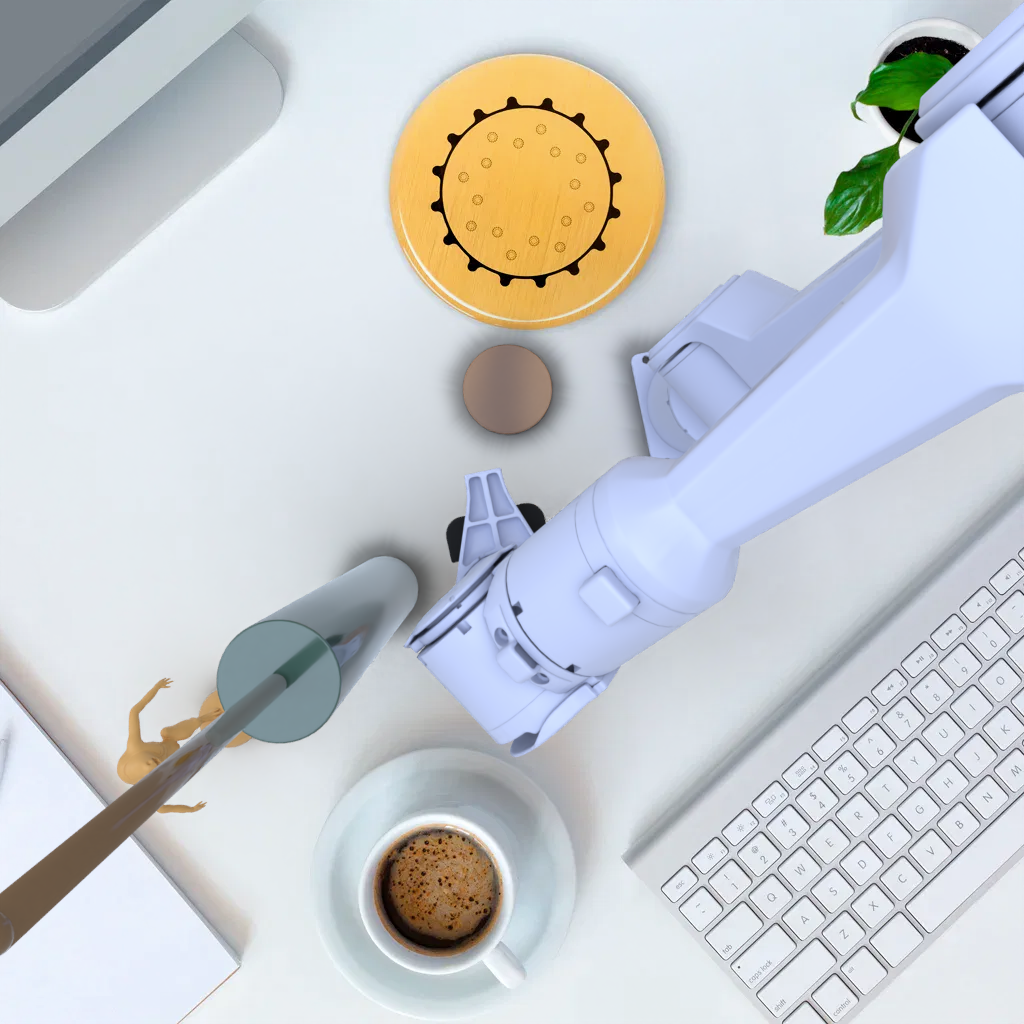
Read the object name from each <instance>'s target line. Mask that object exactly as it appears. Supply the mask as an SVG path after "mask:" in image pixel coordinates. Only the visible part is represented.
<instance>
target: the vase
mask: <svg viewBox="0 0 1024 1024" xmlns="http://www.w3.org/2000/svg"><path fill="white" fill-rule="evenodd" d="M418 597H419V583H418V580H417V577H416V574H415V573H414V571H413V570H412V569H411V567H410V566H409V565H408V564H407V563H406V562H404V561H402V560H401V559H399V558H396V557H394V556H389V555H379V556H375V557H372V558H369V559H367V560H366V561H364V562H363V563H361V564H359V565H357V566H355V567H353V568H352V569H349V570H348V571H346V572H344V573H343V574H341V575H339V576H337V577H336V578H333V579H332V580H330V581H328V582H326V583H325V584H323V585H321V586H319V587H317V588H316V589H314V590H312V591H310V592H309V593H307V594H305V595H303V596H301V597H299V598H298V599H296V600H294V601H292V602H291V603H289V604H287V605H285V606H283V607H282V608H280V609H278V610H276V611H274V612H272V613H271V614H269V615H267V616H265V617H264V618H261V619H260V620H258V621H256V622H254V623H253V624H251V625H249V626H248V627H246V628H244V629H243V630H242V631H240V632H239V633H237V634H236V635H235V637H233V639H232V640H230V642H229V643H228V644H227V646H226V647H225V649H224V650H223V652H222V655H221V657H220V660H219V662H218V665H217V666H218V667H217V671H216V690H217V692H218V696H219V700H220V703H221V705H222V707H223V710H224V711H225V712H224V713H222V714H221V715H220V716H219V717H217V718H216V719H215V720H214V721H212V722H211V723H210V724H209V725H208V726H206V727H205V728H204V729H203V730H201V729H200V731H199V732H198V733H197V734H195V735H194V736H193V737H190V738H189V740H188V741H186V742H185V743H184V744H183V745H181V746H180V748H179V749H178V750H177V751H175V752H174V753H173V754H172V755H170V756H169V757H168V758H167V759H166V760H164V761H163V762H162V763H161V764H159V765H158V766H157V767H156V768H154V769H153V770H152V771H151V772H149V773H148V774H147V775H146V776H145V777H143V778H142V779H141V780H140V781H138V782H137V783H136V784H135V785H132V786H131V787H130V788H128V789H127V790H126V791H125V792H123V793H122V794H121V795H120V796H119V797H117V798H116V799H115V800H113V801H112V802H111V803H110V804H109V805H107V806H106V807H105V808H104V809H103V810H101V811H100V812H99V813H98V814H96V815H95V816H94V817H92V819H90V820H89V821H87V822H86V823H85V824H84V825H83V826H82V827H80V828H79V829H78V830H77V831H75V832H74V833H72V835H71V836H69V837H68V838H66V839H65V840H64V841H62V843H60V844H59V845H58V846H57V847H56V848H54V849H53V850H52V851H50V852H49V853H48V854H47V855H45V856H44V857H43V858H41V860H39V861H38V862H36V864H35V865H33V866H32V867H31V868H30V869H28V870H26V872H24V873H23V874H21V876H20V877H18V878H17V879H16V880H15V881H13V882H12V883H11V884H10V885H9V886H7V887H6V888H5V889H3V890H2V891H1V892H0V957H2V956H3V955H4V954H6V953H7V952H8V950H10V949H11V948H12V947H13V946H14V945H15V944H16V943H18V941H19V940H21V939H22V938H23V937H24V936H25V935H26V934H27V933H28V932H30V930H31V929H32V928H33V927H34V926H36V925H37V924H38V923H39V922H40V921H41V920H42V919H43V918H44V917H45V916H46V915H48V913H50V911H52V910H53V909H54V908H55V907H56V906H57V905H58V904H59V903H60V902H61V901H62V900H64V898H65V897H66V896H68V895H69V894H70V893H72V891H73V890H74V889H75V888H76V887H77V886H78V885H79V884H81V883H82V881H84V880H85V879H86V878H87V877H88V876H89V875H90V874H91V873H92V872H93V871H94V870H96V869H97V867H99V866H100V865H101V864H102V863H103V862H104V861H105V860H106V859H107V858H108V857H109V856H110V855H111V854H112V853H114V852H115V851H116V850H117V849H118V848H119V847H120V846H121V845H122V844H123V843H125V841H126V840H127V839H129V837H131V836H132V835H133V834H134V833H135V832H136V831H137V830H139V828H141V826H143V824H144V823H145V822H147V821H148V820H149V819H150V818H151V817H152V816H153V815H154V814H156V812H157V810H158V809H159V808H160V807H161V806H163V805H166V803H167V802H168V801H169V800H170V799H172V797H174V795H175V794H177V793H178V792H179V791H180V790H181V789H182V788H183V787H184V786H185V785H186V784H188V783H189V781H191V779H193V778H194V777H195V776H196V775H197V774H199V772H201V770H202V769H203V768H204V767H205V766H206V765H207V764H209V763H210V762H211V761H213V760H214V758H215V757H216V756H217V755H218V754H220V753H221V752H222V750H224V749H226V748H225V747H226V746H227V745H228V744H229V743H230V742H231V741H232V740H233V739H234V738H235V737H236V736H237V735H238V734H240V733H241V732H244V733H245V734H247V735H249V736H251V737H252V738H253V739H255V740H258V741H260V742H264V743H267V744H268V743H269V744H275V745H277V744H290V743H295V742H299V741H303V740H304V739H307V738H309V737H310V736H312V735H314V734H315V733H317V732H318V731H319V730H320V729H322V728H323V727H324V725H326V724H327V722H328V721H329V720H330V719H331V718H332V716H333V715H334V713H335V712H336V711H337V709H338V708H339V707H340V705H341V704H342V702H343V701H344V700H345V699H346V698H347V697H348V695H349V694H350V693H351V691H352V690H353V688H354V687H355V686H356V685H357V683H358V682H359V680H360V679H361V678H362V676H363V675H364V674H365V673H366V671H367V670H368V668H369V667H370V665H371V664H372V663H373V662H374V661H375V659H376V658H377V656H378V655H379V654H380V652H381V651H382V650H383V649H384V648H385V646H386V644H387V643H388V642H389V641H390V639H391V638H392V637H393V635H394V634H395V633H396V631H397V630H398V629H399V627H400V626H401V625H402V624H403V622H404V621H405V619H406V618H407V617H408V616H409V614H410V613H411V611H412V610H413V609H414V607H415V605H416V603H417V600H418ZM252 738H251V739H252Z"/></svg>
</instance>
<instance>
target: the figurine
mask: <svg viewBox="0 0 1024 1024" xmlns="http://www.w3.org/2000/svg"><path fill="white" fill-rule="evenodd" d="M172 683H174V680H171V678H170V677H169V678H167V677H163V678H161V679H160V680H159V681H157V682H156V683H155V684H154V686H153V687H152V688H150V690H149V691H148V692H146V694H145V695H143V697H142V698H141V699H140V700H139V701H138V702H137V703H136V704H135V705H133V706H132V707H131V708H130V711H129V714H128V737H127V740H126V749H125V751H124V752H123V754H122V755H121V756H120V757H119V759H118V761H117V765H116V773H117V776H118V778H119V779H120V780H121V781H123V783H125V784H127V785H132V786H133V785H135V784H136V783H137V782H138V781H140V780H141V779H142V778H143V777H145V776H146V775H147V774H148V773H149V772H151V771H152V770H153V769H154V768H156V767H157V766H158V765H159V764H161V763H162V762H163V761H164V760H166V759H167V758H168V757H169V756H170V755H172V754H173V753H174V752H175V751H177V750H178V749H179V748H180V747H181V745H180V744H179V743H178V742H180V741H181V742H182V741H185V740H188V739H190V738H192V737H191V736H193V734H194V733H195V732H196V731H197V730H198V729H200V731H201V730H203V729H204V728H205V727H206V726H208V725H209V724H210V723H211V722H212V721H214V720H215V719H216V718H217V717H219V716H220V715H221V714H222V713H224V712H225V711H224V710H223V707H222V705H221V703H220V700H219V696H218V692H217V689H216V690H214V691H213V692H211V693H210V694H209V695H207V697H206V698H205V699H204V700H203V702H202V704H201V706H200V708H199V713H198V716H197V717H190V718H188V719H184V720H183V719H182V720H180V721H178V722H177V723H175V724H173V725H169V726H165V727H163V728H161V730H160V732H159V733H160V736H161V739H162V741H154V740H153V741H144V740H143V739H142V736H141V735H142V734H141V721H140V713H141V712H142V711H144V709H145V708H146V706H147V705H148V704H149V703H150V702H152V700H153V699H154V698H155V697H156V696H157V694H158V692H159V691H160V690H161V689H170V688H171V685H170V684H172ZM251 739H252V737H251V736H249V735H247V734H245V733H244V732H241V733H240V734H238V735H237V736H236V737H235V738H234V739H233V740H232V741H231V742H230V743H229V744H228V745H227V746H226V747H225V748H224V749H233V748H236V747H237V748H238V747H240V746H242V745H245V744H246V743H248V742H249V741H250V740H251ZM207 804H208V801H205V802H203V800H201V801H199V802H198V803H196V804H195V805H194V806H189V805H186V804H164V805H163V806H161V807H160V808H159V809H158V810H157V811H156V812H157V813H159V814H169V813H175V814H176V813H177V814H185V813H186V814H187V813H190V814H191V813H192V814H193V813H195V812H198V811H200V810H202V809H204V808H205V807H206V805H207Z"/></svg>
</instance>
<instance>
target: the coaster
mask: <svg viewBox="0 0 1024 1024" xmlns="http://www.w3.org/2000/svg"><path fill="white" fill-rule="evenodd" d="M552 383H553V382H552V378H551V375H550V372H549V370H548V367H547V366H546V364H545V363H544V361H543V360H542V359H541V358H540V357H539V356H538V355H537V354H536V353H535V352H533V351H531V350H529V349H528V348H526V347H523V346H521V345H516V344H499V345H495V346H492V347H489V348H487V349H486V350H483V351H481V352H480V353H479V354H478V355H476V357H475V358H474V359H473V360H472V361H471V363H470V364H469V366H468V367H467V369H466V372H465V374H464V378H463V383H462V396H463V401H464V404H465V407H466V410H467V411H468V414H469V415H470V416H471V417H472V419H473V420H474V421H475V422H476V423H477V424H478V425H479V426H481V427H482V428H483V429H486V430H487V431H490V432H492V433H495V434H498V435H515V434H520V433H523V432H526V431H528V430H530V429H531V428H534V427H535V425H537V424H539V422H540V421H541V419H543V417H544V416H545V415H546V413H547V411H548V409H549V407H550V404H551V400H552V395H553V384H552Z"/></svg>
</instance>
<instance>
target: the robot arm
mask: <svg viewBox="0 0 1024 1024" xmlns="http://www.w3.org/2000/svg"><path fill="white" fill-rule="evenodd" d="M918 117H919V119H918V120H917V121H916V122H915V124H914V130H915V133H916V134H917V135H918V136H919V137H920V138H921V140H923V141H922V142H920V143H919V144H918V145H917V146H915V147H914V148H913V149H912V150H910V151H908V152H907V153H906V154H904V155H902V156H901V157H900V158H898V159H897V161H895V163H893V164H892V165H891V166H890V168H889V170H888V171H887V172H886V174H885V176H884V179H883V188H882V189H883V190H882V223H881V224H882V226H881V227H880V228H879V229H878V230H877V231H875V232H874V233H873V234H872V235H870V236H869V237H868V238H867V239H865V240H864V241H863V242H861V243H860V244H859V245H857V246H856V247H854V249H852V250H850V251H849V252H848V253H847V254H846V255H844V256H843V257H842V258H841V259H840V260H838V261H837V262H835V263H834V264H833V265H832V266H830V267H829V268H827V270H825V271H824V272H823V273H822V274H819V276H817V277H816V278H815V279H814V280H812V281H811V282H810V283H809V284H807V285H806V286H805V287H803V288H802V289H801V290H797V288H793V287H791V286H789V285H787V284H785V283H783V282H781V281H778V280H776V279H774V278H772V277H770V276H767V275H766V274H763V273H761V272H759V271H756V270H753V269H747V270H745V271H744V272H743V273H742V274H741V275H740V274H733V275H732V276H731V277H730V278H729V279H728V280H726V282H725V283H724V284H719V285H718V286H716V288H715V289H713V291H712V292H710V293H709V294H708V295H707V296H706V297H705V298H704V299H703V300H702V301H700V303H698V305H696V306H695V307H694V308H693V309H692V310H691V311H690V312H689V313H688V314H687V315H685V317H683V319H681V320H680V321H678V323H677V324H676V325H675V326H674V327H673V328H672V329H670V331H668V333H666V334H665V335H664V336H663V337H662V338H661V339H660V340H659V341H658V342H657V343H656V344H655V345H654V346H652V347H651V348H650V349H649V351H645V352H640V353H636V354H634V355H633V356H632V357H631V359H630V364H631V365H630V367H631V370H632V375H633V380H634V385H635V390H636V394H637V395H636V396H637V399H638V404H639V409H640V413H641V420H642V424H643V428H644V433H645V438H646V442H647V443H646V444H647V447H648V452H649V456H648V455H634V456H628V457H626V458H623V459H621V460H619V461H618V462H616V463H615V464H614V465H613V466H612V467H610V468H609V469H608V470H607V471H606V472H605V473H603V474H602V475H601V476H599V478H597V479H596V480H595V481H594V482H593V483H591V484H590V485H589V486H588V487H587V488H586V489H585V490H583V491H582V492H581V493H580V494H578V495H577V496H576V497H575V498H574V499H572V500H571V502H569V503H567V504H566V506H564V507H563V508H562V509H561V510H559V512H557V513H556V514H555V515H554V516H553V517H552V518H551V519H549V520H548V521H546V517H545V514H544V512H543V510H542V509H541V508H540V506H538V505H536V504H534V503H532V502H523V503H519V504H516V502H515V501H514V499H513V497H512V496H511V494H510V491H509V489H508V487H507V485H506V483H505V478H504V476H503V475H504V474H503V470H502V468H501V467H496V468H491V469H486V470H482V471H477V472H472V473H468V474H464V477H463V478H464V484H465V490H466V491H465V492H466V506H465V514H464V515H462V516H458V517H456V518H454V519H452V520H451V521H450V522H449V523H448V525H447V528H446V531H445V538H446V543H447V547H448V548H447V549H448V553H449V557H450V560H451V563H453V564H454V563H458V564H457V572H456V578H455V579H456V580H455V585H454V586H452V587H451V588H450V589H449V590H448V591H447V592H446V593H445V594H444V595H443V596H442V597H441V598H439V599H438V600H437V602H436V603H435V604H434V605H433V606H432V607H431V608H430V609H429V610H428V611H427V612H426V613H425V614H424V615H423V617H421V618H420V620H418V622H417V624H416V625H415V627H414V629H413V630H412V631H411V633H410V634H409V637H408V638H407V640H406V641H405V643H404V645H403V648H404V649H411V650H412V651H413V652H414V653H415V654H417V656H416V659H417V660H418V661H420V663H421V664H422V665H423V666H424V667H425V668H426V669H427V670H428V671H429V673H430V674H432V676H433V677H434V678H435V679H436V680H437V681H438V682H439V683H440V684H441V685H442V686H443V687H444V688H445V690H447V692H448V693H450V695H451V696H452V697H453V698H454V700H456V701H457V702H458V703H459V705H461V706H462V708H463V709H464V710H465V711H466V712H467V713H468V714H469V715H470V716H471V717H472V718H473V719H474V720H475V722H476V723H478V724H479V726H481V728H482V729H483V730H484V732H486V734H488V735H489V736H490V738H492V740H493V741H494V742H495V743H496V744H497V745H500V746H502V745H506V744H508V743H510V742H512V743H511V745H510V748H509V753H510V756H511V757H512V758H518V757H522V756H524V755H527V754H528V753H530V752H532V751H534V750H536V749H538V748H539V747H540V746H542V745H543V744H544V743H546V742H547V741H549V739H551V738H552V737H553V736H555V735H556V734H557V733H558V732H559V731H561V730H562V729H563V728H564V727H565V726H567V725H568V724H569V723H570V722H571V721H572V720H573V719H574V718H575V717H576V716H577V715H578V714H579V713H580V712H581V711H582V710H583V709H584V708H585V707H586V706H587V705H588V704H590V703H591V702H593V701H594V700H595V699H597V698H598V697H599V696H600V695H601V694H602V693H603V692H605V691H606V690H607V689H608V687H609V686H610V685H611V683H612V682H613V680H614V678H615V677H616V675H617V673H618V672H619V670H620V668H621V666H622V665H624V664H626V663H627V662H629V661H630V660H632V659H633V658H635V657H636V656H638V655H640V654H641V653H642V652H645V650H647V649H649V648H651V646H653V645H655V644H656V643H658V642H660V641H661V640H663V639H664V638H666V637H667V636H668V635H670V634H672V633H673V632H675V631H677V630H678V629H679V628H681V627H683V626H684V625H685V624H687V623H688V622H691V621H692V620H693V619H695V618H696V617H697V616H700V615H701V614H702V613H704V612H705V611H707V610H708V609H710V608H711V607H714V606H715V605H716V604H718V603H719V602H721V601H722V600H724V599H725V598H726V597H727V595H728V594H729V593H730V591H731V589H732V588H733V586H734V584H735V581H736V578H737V577H736V576H737V573H738V566H739V558H740V550H741V546H742V545H744V544H745V543H748V542H749V541H752V540H753V539H755V538H756V537H758V536H760V535H762V534H764V533H765V532H767V531H769V530H771V529H772V528H774V527H776V526H778V525H780V524H782V523H783V522H785V521H787V520H789V519H790V518H792V517H794V516H796V515H798V514H799V513H802V512H803V511H805V510H806V509H808V508H811V506H814V505H816V504H817V503H819V502H821V501H823V500H825V499H826V498H828V497H830V496H832V495H834V494H835V493H837V492H839V491H841V490H842V489H844V488H846V487H848V486H849V485H851V484H854V483H855V482H856V481H858V480H861V479H862V478H864V477H866V476H868V475H869V474H871V473H873V472H874V471H876V470H878V469H880V468H881V467H884V466H885V465H887V464H889V463H891V462H893V461H895V460H896V459H898V458H900V457H902V456H903V455H905V454H907V453H909V452H910V451H912V450H914V449H916V448H918V447H920V446H921V445H923V444H925V443H927V442H928V441H930V440H932V439H933V438H935V437H937V436H939V435H941V434H943V433H945V432H947V431H948V430H950V429H952V428H954V427H956V426H957V425H959V424H961V423H962V422H964V421H966V420H968V419H970V418H971V417H973V416H975V415H977V414H979V413H980V412H982V411H984V410H986V409H988V408H989V407H991V406H993V405H995V404H996V403H999V402H1000V401H1003V400H1004V399H1006V398H1009V397H1010V396H1013V395H1017V394H1020V393H1024V1H1022V2H1021V3H1020V4H1019V5H1018V6H1017V7H1016V8H1015V9H1014V10H1013V11H1012V12H1011V13H1009V14H1008V15H1007V16H1006V17H1005V18H1004V19H1003V20H1002V21H1000V23H998V25H996V26H995V28H994V29H992V30H991V31H990V32H989V33H987V35H986V36H984V38H983V39H981V40H980V41H979V42H978V43H977V44H976V45H975V46H974V47H973V48H972V49H971V50H970V51H969V52H967V53H966V54H965V55H964V56H963V57H962V58H961V59H960V60H959V61H958V62H957V63H956V64H954V66H953V67H951V69H949V70H948V71H947V72H946V73H945V74H944V75H943V76H942V77H941V78H940V79H939V80H938V81H936V82H935V84H933V85H932V86H931V87H929V89H928V90H926V92H925V93H923V95H922V96H921V97H920V99H919V107H918ZM643 358H648V361H647V363H646V362H644V361H643Z"/></svg>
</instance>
